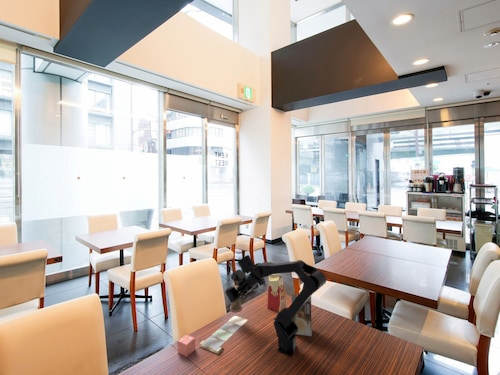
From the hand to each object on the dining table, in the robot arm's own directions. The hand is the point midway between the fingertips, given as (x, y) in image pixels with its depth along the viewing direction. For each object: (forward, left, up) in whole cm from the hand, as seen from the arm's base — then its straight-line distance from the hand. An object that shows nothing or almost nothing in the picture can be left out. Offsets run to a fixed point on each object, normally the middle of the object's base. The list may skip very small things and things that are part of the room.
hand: (233, 297), depth 126 cm
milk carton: (-12, -23, -13) cm, 30 cm away
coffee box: (-31, -10, -13) cm, 35 cm away
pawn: (-1, 0, -5) cm, 6 cm away
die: (+6, +27, -13) cm, 30 cm away
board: (-2, +9, -13) cm, 16 cm away
